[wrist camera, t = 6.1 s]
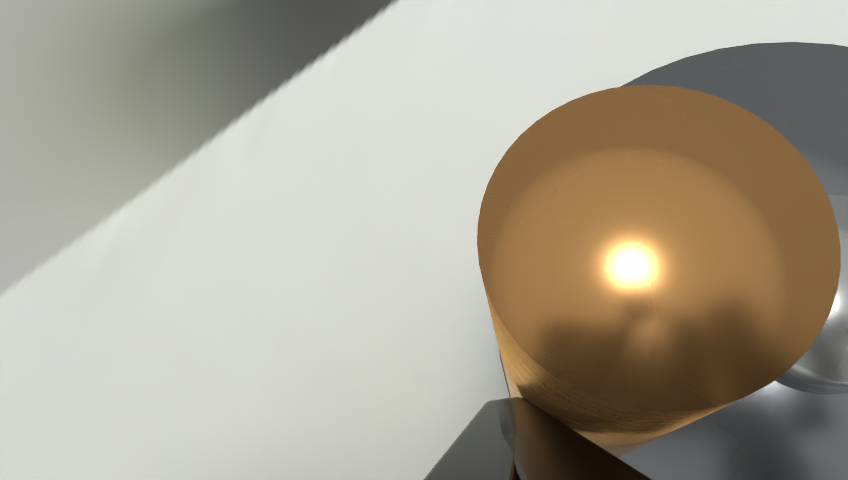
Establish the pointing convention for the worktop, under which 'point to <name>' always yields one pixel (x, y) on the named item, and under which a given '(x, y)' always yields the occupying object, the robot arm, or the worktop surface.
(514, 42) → the worktop surface
